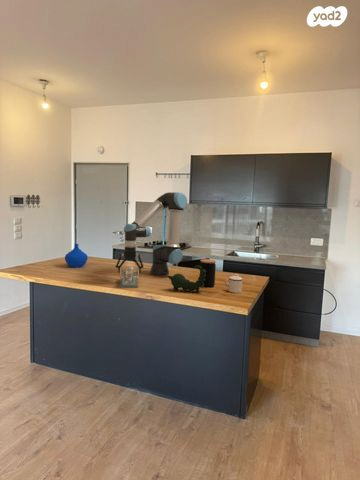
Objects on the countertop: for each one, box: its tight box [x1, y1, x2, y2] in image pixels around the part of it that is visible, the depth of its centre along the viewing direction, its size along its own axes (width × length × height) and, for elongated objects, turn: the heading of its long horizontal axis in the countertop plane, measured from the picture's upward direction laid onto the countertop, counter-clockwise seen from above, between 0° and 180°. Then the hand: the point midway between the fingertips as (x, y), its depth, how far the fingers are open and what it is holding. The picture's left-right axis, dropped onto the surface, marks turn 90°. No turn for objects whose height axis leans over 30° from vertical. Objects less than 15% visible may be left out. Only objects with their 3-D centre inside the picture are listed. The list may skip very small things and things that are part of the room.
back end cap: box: [123, 269, 137, 279], centre depth 238 cm, size 8×3×6 cm, turn 97°
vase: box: [64, 243, 89, 268], centre depth 279 cm, size 18×18×19 cm
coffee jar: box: [199, 258, 217, 288], centre depth 231 cm, size 11×11×18 cm
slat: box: [126, 266, 134, 283], centre depth 229 cm, size 4×22×6 cm, turn 7°
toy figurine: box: [166, 265, 206, 293], centre depth 215 cm, size 9×19×25 cm
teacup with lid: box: [223, 273, 244, 294], centre depth 221 cm, size 12×9×12 cm
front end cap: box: [122, 275, 137, 285], centre depth 220 cm, size 8×3×6 cm, turn 97°
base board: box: [119, 277, 139, 289], centre depth 229 cm, size 12×22×2 cm, turn 7°
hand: (129, 277), depth 229 cm, fingers open, 11 cm apart
